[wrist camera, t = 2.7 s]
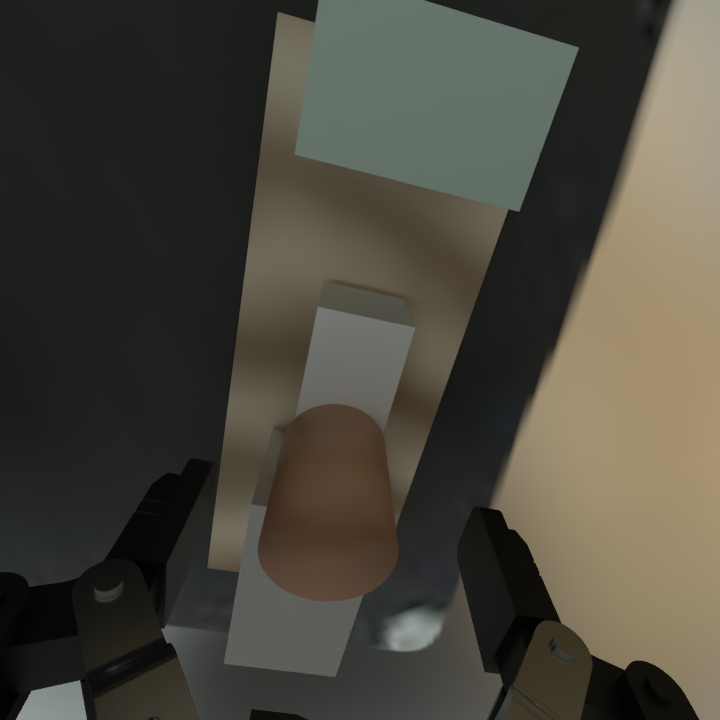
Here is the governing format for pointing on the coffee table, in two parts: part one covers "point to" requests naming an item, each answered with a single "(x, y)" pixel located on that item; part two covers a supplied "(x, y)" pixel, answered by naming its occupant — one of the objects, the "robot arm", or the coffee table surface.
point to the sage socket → (430, 97)
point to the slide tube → (339, 453)
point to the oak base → (343, 267)
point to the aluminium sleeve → (282, 605)
